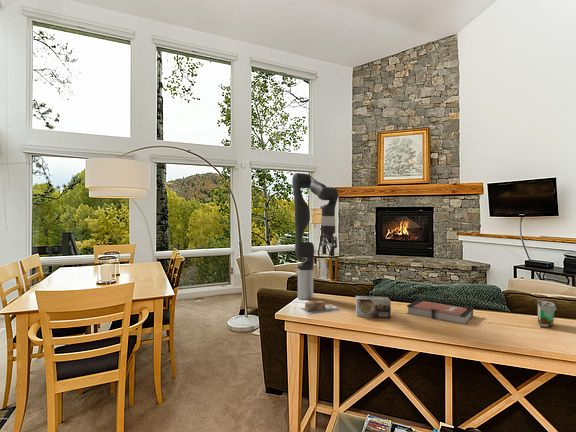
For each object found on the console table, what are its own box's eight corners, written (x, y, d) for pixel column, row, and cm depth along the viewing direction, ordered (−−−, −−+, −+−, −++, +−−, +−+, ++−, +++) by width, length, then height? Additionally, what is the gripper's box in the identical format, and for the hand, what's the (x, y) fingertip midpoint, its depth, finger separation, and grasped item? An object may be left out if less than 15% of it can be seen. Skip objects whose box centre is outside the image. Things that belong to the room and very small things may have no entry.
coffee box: (355, 313, 167) (388, 315, 165) (356, 317, 160) (391, 319, 158) (355, 295, 167) (388, 296, 165) (356, 298, 160) (391, 299, 158)
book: (406, 314, 166) (406, 304, 166) (418, 307, 179) (418, 298, 179) (464, 326, 149) (464, 315, 149) (473, 317, 162) (473, 307, 162)
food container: (558, 331, 142) (558, 307, 142) (540, 328, 145) (540, 305, 145) (554, 323, 152) (554, 301, 152) (537, 320, 155) (537, 299, 155)
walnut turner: (309, 312, 166) (309, 304, 166) (303, 309, 172) (303, 301, 172) (337, 309, 172) (337, 301, 172) (330, 306, 178) (330, 298, 178)
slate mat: (300, 309, 174) (300, 308, 174) (330, 305, 181) (330, 304, 181) (310, 315, 163) (310, 314, 163) (341, 311, 170) (341, 310, 170)
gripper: (315, 224, 181) (315, 254, 181) (328, 225, 168) (328, 257, 168) (327, 224, 184) (327, 253, 184) (341, 225, 171) (341, 256, 171)
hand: (328, 255), depth 176 cm, fingers open, 8 cm apart
